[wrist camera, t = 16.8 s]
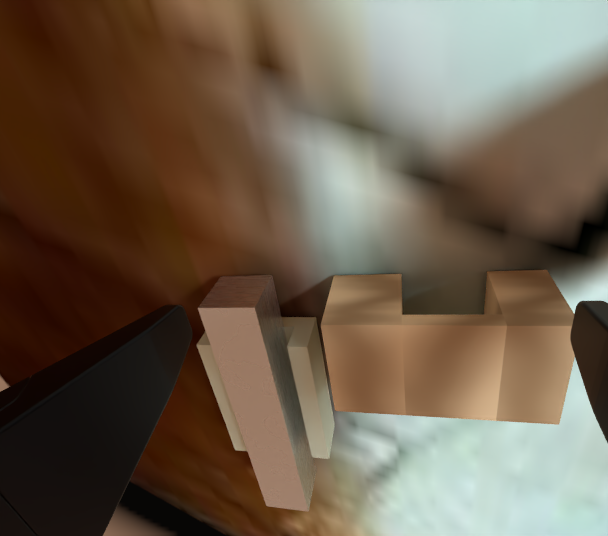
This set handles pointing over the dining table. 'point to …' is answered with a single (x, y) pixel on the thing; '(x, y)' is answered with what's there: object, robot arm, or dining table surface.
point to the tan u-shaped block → (450, 351)
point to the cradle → (307, 380)
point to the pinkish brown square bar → (261, 385)
